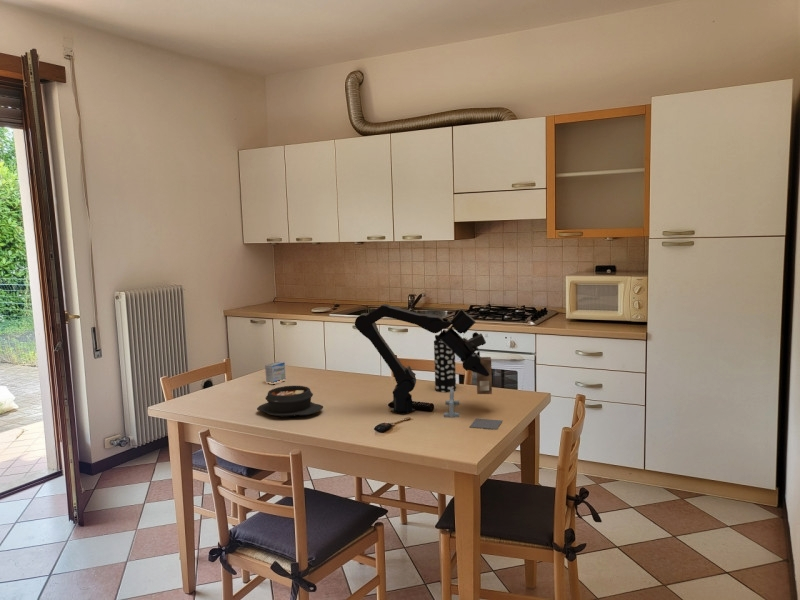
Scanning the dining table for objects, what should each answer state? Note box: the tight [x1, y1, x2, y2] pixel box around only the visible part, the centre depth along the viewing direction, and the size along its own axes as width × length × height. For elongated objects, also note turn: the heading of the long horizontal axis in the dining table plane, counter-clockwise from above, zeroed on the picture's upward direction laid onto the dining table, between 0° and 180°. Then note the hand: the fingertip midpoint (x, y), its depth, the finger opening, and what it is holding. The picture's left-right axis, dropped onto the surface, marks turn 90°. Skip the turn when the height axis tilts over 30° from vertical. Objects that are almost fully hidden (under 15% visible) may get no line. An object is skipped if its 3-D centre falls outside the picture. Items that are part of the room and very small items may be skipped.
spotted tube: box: [433, 339, 457, 393], centre depth 241 cm, size 8×8×20 cm
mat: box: [469, 418, 503, 430], centre depth 196 cm, size 9×9×1 cm
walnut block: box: [476, 356, 493, 395], centre depth 210 cm, size 5×5×12 cm
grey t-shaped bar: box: [443, 389, 460, 418], centre depth 214 cm, size 18×5×5 cm, turn 174°
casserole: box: [256, 385, 324, 417], centre depth 217 cm, size 25×19×8 cm
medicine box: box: [264, 361, 287, 383], centre depth 264 cm, size 8×4×9 cm, turn 147°
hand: (488, 373), depth 209 cm, fingers closed on walnut block, 5 cm apart
